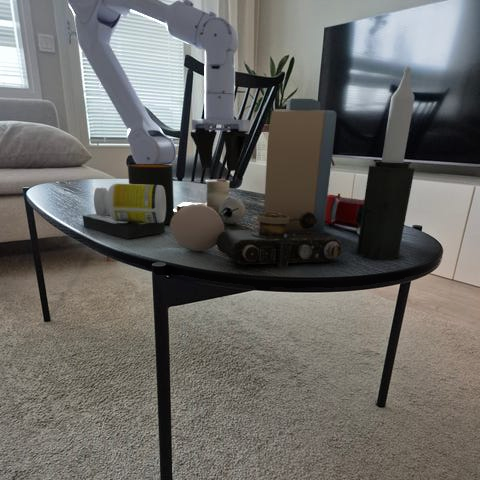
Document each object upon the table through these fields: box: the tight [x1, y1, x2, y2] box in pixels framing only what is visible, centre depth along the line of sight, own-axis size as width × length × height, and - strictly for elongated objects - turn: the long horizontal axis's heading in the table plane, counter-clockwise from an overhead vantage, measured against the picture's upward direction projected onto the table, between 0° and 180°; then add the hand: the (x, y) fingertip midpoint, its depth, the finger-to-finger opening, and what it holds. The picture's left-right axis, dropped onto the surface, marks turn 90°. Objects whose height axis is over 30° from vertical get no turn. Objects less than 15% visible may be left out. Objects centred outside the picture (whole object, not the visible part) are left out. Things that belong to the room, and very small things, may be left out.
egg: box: [169, 204, 225, 252], centre depth 63 cm, size 7×7×10 cm
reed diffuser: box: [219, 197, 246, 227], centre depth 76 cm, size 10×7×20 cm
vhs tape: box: [82, 213, 166, 240], centre depth 76 cm, size 14×8×2 cm, turn 47°
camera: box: [216, 212, 343, 269], centre depth 59 cm, size 16×7×8 cm
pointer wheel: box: [205, 178, 230, 207], centre depth 87 cm, size 5×5×5 cm
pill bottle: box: [93, 183, 166, 223], centre depth 71 cm, size 6×6×11 cm
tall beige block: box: [263, 98, 337, 234], centre depth 72 cm, size 21×10×22 cm, turn 168°
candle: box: [356, 66, 416, 261], centre depth 60 cm, size 5×5×25 cm
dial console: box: [176, 201, 224, 222], centre depth 89 cm, size 12×9×3 cm
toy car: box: [324, 193, 364, 229], centre depth 81 cm, size 6×14×5 cm
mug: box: [127, 163, 175, 225], centre depth 83 cm, size 8×12×10 cm
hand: (218, 169), depth 87 cm, fingers open, 7 cm apart
